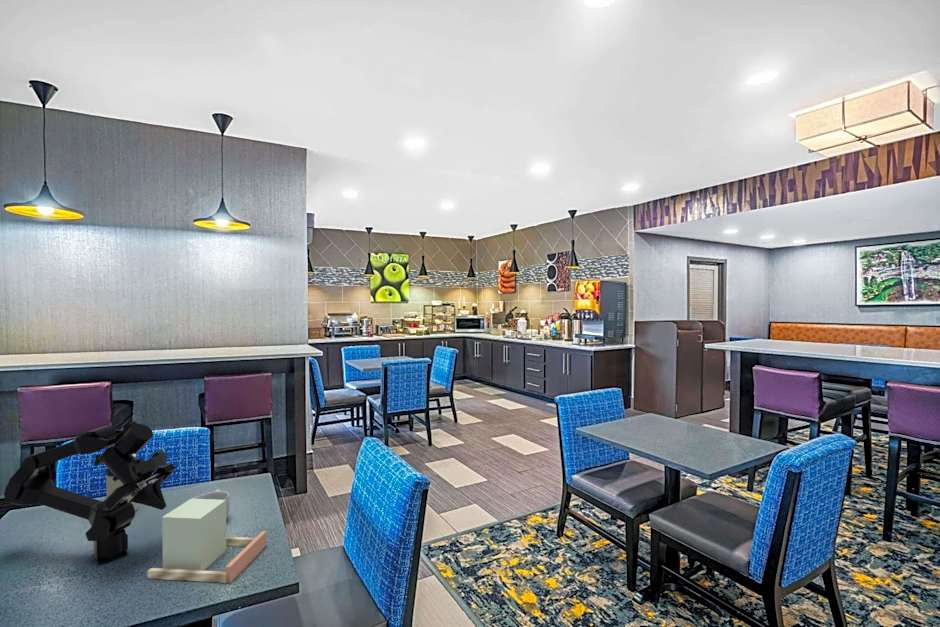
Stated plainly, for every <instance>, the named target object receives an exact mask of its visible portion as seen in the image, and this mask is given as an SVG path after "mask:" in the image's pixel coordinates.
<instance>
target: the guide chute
mask: <svg viewBox="0 0 940 627" xmlns="http://www.w3.org/2000/svg"><path fill="white" fill-rule="evenodd" d="M226 547H243V549H242V550H241V551H240V552H239V553H238V554H237V555H236V556H234V558H233V559H232V560H231V561H229V563H228V564H227V565H226V566H225V571H223V570H222V571H221V570H220V571H219V570H204V571H203V570H183V569H163V567H162V568H161V567H151V568H149V569H148V570H147V579H148V578H149V580H165V581H166V580H167V581H183V580H187V581H188V582H206V583H207V582H208V583H223V584H224V583H225V584H226V583H228V584H231V583H233V581H234V580H235V579H236V578H237V577H238V576H239V575H240V574H241V573H242V571H243V570H245V568H246V567H247V566H249V564H250V563H251V562H252V561H253V560H254V559H255V558H256V557H257V556H258V555H259V554H260V553H261V552H262V551H263V550H264V549H265V548H266V547H267V531H265V530H262V531H260V533H259V534H258V535H257V536H256V537H244V536H243V537H242V536H226ZM187 581H186V582H187Z"/></svg>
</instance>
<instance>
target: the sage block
mask: <svg viewBox="0 0 940 627" xmlns="http://www.w3.org/2000/svg"><path fill="white" fill-rule="evenodd" d="M161 525H162V526H161V528H162V529H161V532H162V544H161V545H162V547H161V548H162V568H163V569H183V570H203V571H206V570H207V569H208V568H209V567H210V566H211V565H212V564H213V563H214V562H215V561H216V560H217V559H218V558H220V556H222V555H223V554H224V553H225V552H226V551H227V546H226V537H227V517H226V500H215V499H193V498H190V499H188V500H187V501H185V502H184V503H182V504H180V505H178V507H175V508H174V509H172V510H171V511H169V512H168V513H166V514H165V515H163V516H162V517H161Z"/></svg>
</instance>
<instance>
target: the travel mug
mask: <svg viewBox="0 0 940 627" xmlns="http://www.w3.org/2000/svg"><path fill="white" fill-rule="evenodd" d="M136 454H137V453H136ZM136 454H132V455H133V456H134V457H135V458H136V457H137V455H136ZM105 471H106V472H105V475H106V476H105V478H106V479H105V482H106V484H105V485H106V499H107V498H108V497H109V496H110V495H111V494H112V492H113V491H114V490H115V489H116V488H118V487H120V486H122V485H123V484H122V483H121V482H120V480H117V481H114V480H113V478H114V476H115V475H114V474H113V473H112V472H111V471H110V470H109V469H108V468H107V467H106V469H105ZM123 499H128V501H127V502H129V501H130V500H131V499H132V497H131V495H129V496H127V497H125V498H123ZM132 504H133V507H134V509H135V512H136V511H137V510H139V509H138V508H139V507H138V506H139V505H138V504H139V503H135V502H132Z"/></svg>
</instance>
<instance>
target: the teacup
mask: <svg viewBox="0 0 940 627" xmlns="http://www.w3.org/2000/svg"><path fill="white" fill-rule="evenodd" d="M192 499H215V500H226V518H227V517H228V516H229V513H230V493H229V492H228V491H224V490H222V489H220V488H219V489H215V490H214V491H211V492H205V493H202V494H200V495H197V496H195V497H193V498H192Z"/></svg>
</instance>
